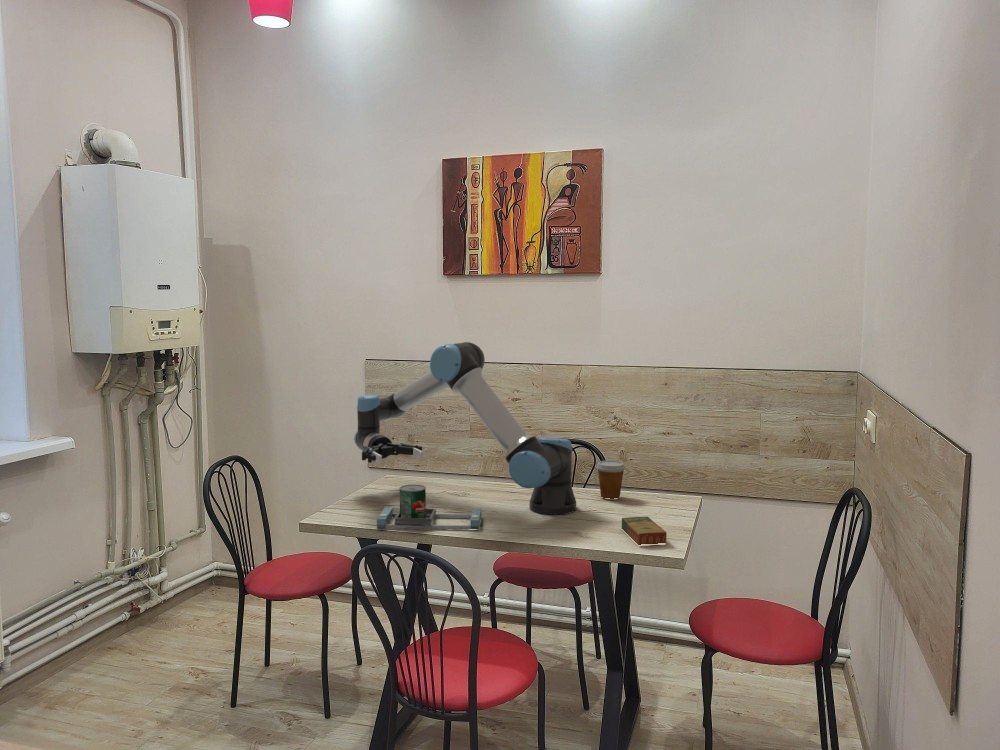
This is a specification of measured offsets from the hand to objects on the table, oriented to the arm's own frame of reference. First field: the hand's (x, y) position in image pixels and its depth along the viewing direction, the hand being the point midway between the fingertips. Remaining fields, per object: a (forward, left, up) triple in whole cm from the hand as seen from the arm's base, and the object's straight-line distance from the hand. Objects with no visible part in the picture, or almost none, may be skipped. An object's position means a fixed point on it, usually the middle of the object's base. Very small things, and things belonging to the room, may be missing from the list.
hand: (401, 458), depth 237 cm
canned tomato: (-4, +7, -19) cm, 20 cm away
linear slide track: (-10, +7, -18) cm, 22 cm away
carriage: (-5, +7, -17) cm, 19 cm away
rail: (-10, +7, -18) cm, 22 cm away
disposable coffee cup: (-67, -25, -19) cm, 74 cm away
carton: (-72, +18, -19) cm, 77 cm away
